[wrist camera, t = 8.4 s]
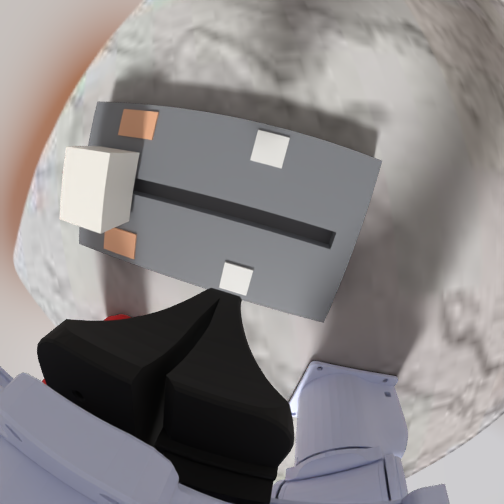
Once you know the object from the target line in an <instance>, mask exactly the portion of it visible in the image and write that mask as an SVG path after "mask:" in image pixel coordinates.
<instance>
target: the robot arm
mask: <svg viewBox="0 0 504 504" xmlns="http://www.w3.org/2000/svg"><path fill="white" fill-rule="evenodd" d="M241 301H242V299H241V297H240V296H237V295H234V294H231V293H227V292H224V291H221V290H218V289H214V288H209V289H207V290H205V291H203V292H201V293H200V294H198V295H196V296H194V297H192V298H190V299H188V300H186V301H184V302H182V303H179V304H177V305H174V306H172V307H170V308H167V309H164V310H161V311H158V312H155V313H151V314H147V315H143V316H138V317H132V318H126V319H119V320H106V321H85V320H70V319H66V320H65V321H63V322H62V323H61V324H60V325H58V326H57V327H56V328H55V329H53V330H52V331H51V332H50V333H48V334H47V335H46V336H45V337H43V338H42V339H41V340H40V342H39V343H38V347H37V355H38V360H39V363H40V366H41V370H42V373H43V376H44V379H45V382H46V384H47V385H46V384H44V383H43V382H42V381H40V380H39V379H37V378H35V377H33V376H31V375H29V374H27V373H21V374H19V375H17V376H16V377H15V378H14V379H13V378H12V377H11V376H10V375H9V374H8V373H7V372H6V371H5V370H4V369H2V368H1V367H0V504H449V499H448V495H447V491H446V487H445V484H441V485H435V486H429V487H424V488H420V489H417V490H414V491H412V492H411V493H409V494H408V491H407V485H406V480H405V475H404V470H403V466H402V461H401V458H402V456H403V454H404V452H405V450H406V446H407V440H408V429H407V425H406V421H405V418H404V415H403V411H402V408H401V405H400V402H399V399H398V396H397V393H396V390H395V387H394V386H395V385H396V383H397V382H398V378H397V376H393V375H386V374H380V373H374V372H368V371H363V370H357V369H352V368H347V367H342V366H337V365H332V364H328V363H323V362H319V361H312V362H311V363H310V364H309V366H308V368H307V370H306V372H305V374H304V375H303V377H302V379H301V381H300V383H299V385H298V387H297V389H296V390H295V392H294V394H293V396H292V398H291V399H290V401H289V403H288V402H287V401H286V400H285V399H284V398H283V397H282V396H281V395H280V394H279V393H278V391H277V390H276V389H275V388H274V387H273V386H272V385H271V384H270V382H269V381H268V380H267V378H266V377H265V375H264V374H263V372H262V371H261V369H260V368H259V366H258V364H257V363H256V361H255V359H254V357H253V355H252V352H251V350H250V348H249V345H248V342H247V339H246V336H245V332H244V328H243V324H242V318H241ZM318 367H321V368H318ZM384 379H385V380H384ZM292 416H293V417H297V432H296V450H295V465H294V467H291V468H287V469H286V477H285V480H280V481H278V482H276V483H275V484H274V485H273V481H274V480H275V479H276V477H277V470H278V466H279V465H280V464H281V462H282V461H283V460H284V459H285V457H286V456H287V455H288V454H289V452H290V451H291V449H292V447H293V445H294V427H293V419H292Z"/></svg>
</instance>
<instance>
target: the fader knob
mask: <svg viewBox="0 0 504 504" xmlns="http://www.w3.org/2000/svg"><path fill="white" fill-rule="evenodd" d="M139 154H140V153H138V152H132V151H127V150H120V149H114V148H108V147H101V146H72V147H66V152H65V160H64V168H63V177H62V188H61V202H60V220H63V221H66V222H69V223H72V224H74V225H77V226H80V227H83V228H86V229H89V230H91V231H94V232H97V233H100V234H101V233H103V232H106V231H108V230H110V229H112V228H115V227H117V226H119V225H122V224H124V223H126V222H129V217H130V209H131V202H132V195H133V188H134V182H135V176H136V170H137V164H138V159H139Z"/></svg>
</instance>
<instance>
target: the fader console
mask: <svg viewBox="0 0 504 504" xmlns="http://www.w3.org/2000/svg"><path fill="white" fill-rule="evenodd" d="M88 146H101V147H108V148H114V149H120V150H127V151H132V152H138V153H140V154H139V159H138V164H137V170H136V176H135V182H134V188H133V195H132V202H131V209H130V217H129V222H126V223H124V224H122V225H119V226H117V227H115V228H112V229H110V230H108V231H106V232H103V233H101V234H100V233H97V232H94V231H91V230H89V229H86V228H83V227H80V230H79V244H81V245H84V246H86V247H89V248H91V249H94V250H97V251H99V252H102V253H105V254H107V255H110V256H113V257H115V258H118V259H121V260H123V261H126V262H129V263H132V264H134V265H137V266H140V267H143V268H146V269H148V270H151V271H154V272H157V273H160V274H163V275H166V276H169V277H172V278H175V279H178V280H181V281H184V282H187V283H190V284H193V285H196V286H199V287H202V288H205V289H209V288H214V289H218V290H221V291H224V292H227V293H231V294H234V295H237V296H240V297H241V299H242V300H244V301H247V302H251V303H254V304H258V305H261V306H265V307H268V308H272V309H275V310H279V311H282V312H286V313H289V314H293V315H297V316H300V317H304V318H308V319H312V320H315V321H319V322H323V323H324V321H325V318H326V316H327V314H328V312H329V309H330V307H331V305H332V302H333V300H334V298H335V295H336V293H337V290H338V288H339V286H340V283H341V281H342V278H343V276H344V273H345V271H346V268H347V265H348V263H349V260H350V258H351V255H352V252H353V249H354V247H355V244H356V241H357V238H358V236H359V233H360V230H361V227H362V224H363V221H364V218H365V215H366V212H367V209H368V206H369V203H370V200H371V197H372V194H373V190H374V187H375V184H376V180H377V177H378V173H379V170H380V166H381V163H382V161H381V160H379V159H376V158H374V157H371V156H368V155H366V154H363V153H360V152H358V151H355V150H352V149H349V148H346V147H343V146H340V145H337V144H334V143H331V142H328V141H325V140H322V139H319V138H315V137H312V136H309V135H305V134H302V133H298V132H295V131H291V130H287V129H284V128H280V127H276V126H272V125H268V124H264V123H259V122H255V121H251V120H246V119H241V118H236V117H231V116H226V115H221V114H215V113H210V112H204V111H197V110H191V109H183V108H176V107H168V106H159V105H148V104H137V103H121V102H97V106H96V110H95V114H94V119H93V123H92V128H91V133H90V139H89V144H88Z"/></svg>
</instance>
